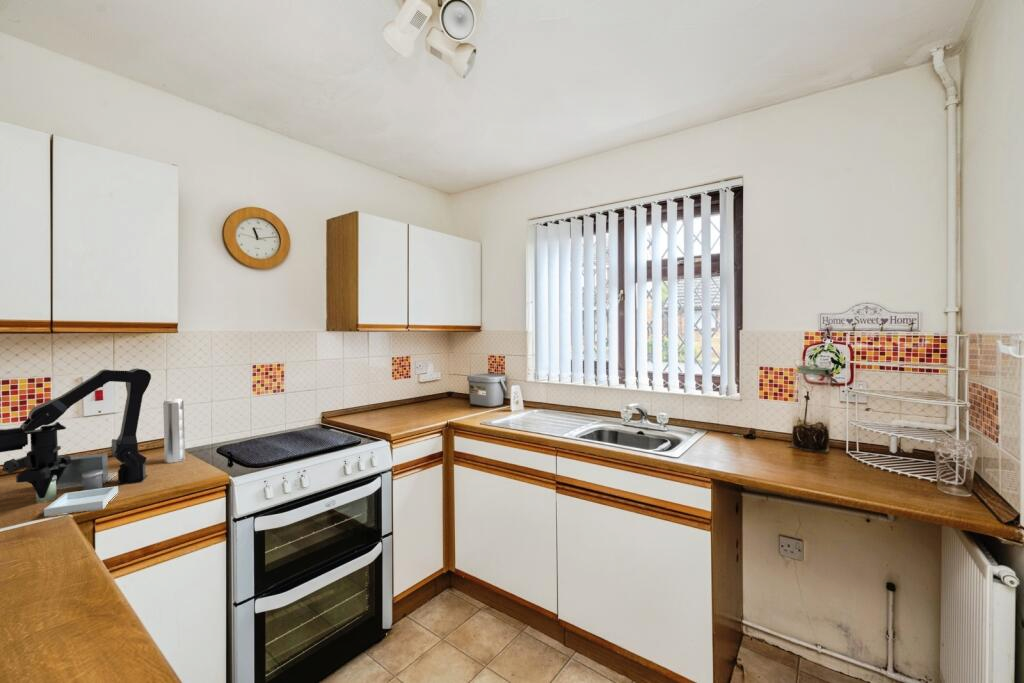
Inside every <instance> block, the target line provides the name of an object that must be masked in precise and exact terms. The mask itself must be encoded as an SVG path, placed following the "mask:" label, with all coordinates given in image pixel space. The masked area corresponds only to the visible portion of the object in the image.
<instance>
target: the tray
mask: <svg viewBox="0 0 1024 683" xmlns="http://www.w3.org/2000/svg"><path fill="white" fill-rule="evenodd" d="M117 493H118V494H119V486H118V485H116V486H110V487H109V486H108V487H102V488H100V489H92V490H85V491H84V490H80V491H78V490H77V491H71V492H64V493H63V494H62V495H61V496H59V497H58V498H56V499H54V500H53V502H51V504H49V505H48V506H46V507H45V508H43V517H44V516H48V515H53V514H59V513H72V512H77V511H87V512H93V511H100V510H104V509H105V508H106V507H107V506H108V505H109V504H108V502H109V501H110V500H111V499H112V498H113V497H114V496H115V495H116V494H117ZM118 494H117V495H118ZM117 495H116V496H117ZM116 496H115V497H116ZM115 497H114V498H115ZM114 498H113V499H114ZM113 499H112V500H113ZM112 500H111V501H112ZM107 504H108V505H107ZM106 505H107V506H106ZM88 510H89V511H88Z"/></svg>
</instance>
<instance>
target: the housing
mask: <svg viewBox="0 0 1024 683" xmlns="http://www.w3.org/2000/svg"><path fill="white" fill-rule="evenodd" d="M70 457H71V463H70V464H68V465H65V464H59V465H60V467H64V466H66V468H65V470H64V472H63V474H62V475H61V477H60V479H59V481H58V483H57V485H56V490H62V489H63V488H64V489H71V488H77V487H76V486H79V487H83V478H82V474H83V473H85V472H88V471H93V470H103V474H102V484H105V483H104V482H109V481H110V480H111V479H112V478H113V477H114V476H116V475H117V476H118V471H117V472H116V471H115V472H109V461H108V460H109V459H108V458H109V456H108V452H102V453H92V454H83V455H74V456H73V455H72V456H70ZM117 476H116V477H117ZM114 478H115V477H114ZM114 478H113V479H114ZM113 479H112V480H113ZM112 480H111V481H112ZM111 481H110V482H111ZM110 482H109V483H110ZM70 487H71V488H70ZM64 489H63V490H64Z"/></svg>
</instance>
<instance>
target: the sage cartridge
mask: <svg viewBox="0 0 1024 683" xmlns="http://www.w3.org/2000/svg"><path fill="white" fill-rule="evenodd" d="M56 480H57V476H56V475H54V476H53V478H52V481H51V483H50V486H49V488H48V491H47V493H46V496H45V497H44V498H39V497H38V495H37V493H36V492H35V502H36V501H37V502H42V503H45V502H44V501H48V502H51V501H54V500H57V499H58V498H57V489H56ZM53 499H54V500H53ZM50 500H51V501H50ZM37 502H36V503H37Z"/></svg>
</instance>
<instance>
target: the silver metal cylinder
mask: <svg viewBox="0 0 1024 683" xmlns="http://www.w3.org/2000/svg"><path fill="white" fill-rule="evenodd" d="M184 402H185V400H182V398H170V399H169V398H168V399H165V400H163V403H162V407H163V409H162V410H163V437H164V438H163V440H164V441H163V442H164V463H166V462H167V464H173V462H174V463H179V462H183V461H184V460H186V441H185V440H186V439H185V436H186V435H185V408H184V407H185V406H184Z"/></svg>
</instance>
